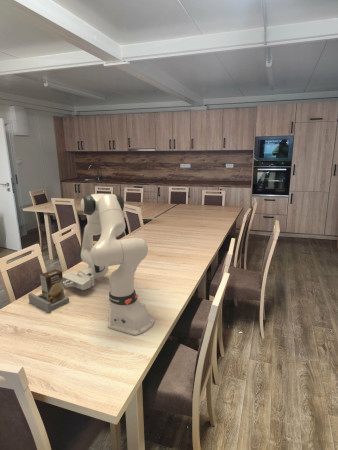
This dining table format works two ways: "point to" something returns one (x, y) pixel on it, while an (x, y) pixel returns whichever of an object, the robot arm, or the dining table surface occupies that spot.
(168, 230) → the dining table surface
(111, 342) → the dining table surface
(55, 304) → the grey u-shaped bracket
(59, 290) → the coffee box
